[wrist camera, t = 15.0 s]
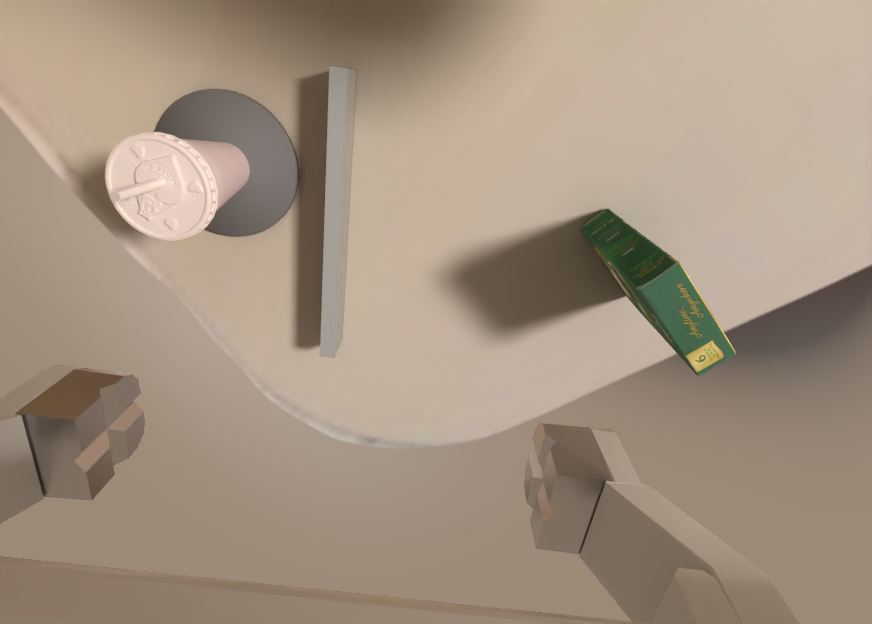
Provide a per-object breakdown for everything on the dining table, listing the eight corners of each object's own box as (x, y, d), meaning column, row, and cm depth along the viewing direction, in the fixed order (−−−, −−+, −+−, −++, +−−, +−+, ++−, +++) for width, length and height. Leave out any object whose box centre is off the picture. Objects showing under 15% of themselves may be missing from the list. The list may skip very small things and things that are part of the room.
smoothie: (281, 157, 38) (194, 190, 25) (244, 224, 40) (147, 286, 27) (204, 104, 36) (70, 111, 23) (171, 177, 38) (31, 219, 26)
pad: (149, 79, 36) (145, 79, 36) (299, 99, 36) (297, 100, 36) (164, 225, 40) (161, 227, 40) (298, 242, 41) (296, 244, 40)
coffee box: (657, 280, 42) (742, 357, 30) (627, 299, 42) (698, 382, 30) (609, 205, 39) (680, 256, 27) (577, 227, 40) (633, 286, 28)
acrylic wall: (340, 68, 35) (329, 65, 32) (356, 70, 35) (347, 68, 32) (329, 337, 44) (319, 356, 41) (342, 338, 44) (334, 357, 41)
